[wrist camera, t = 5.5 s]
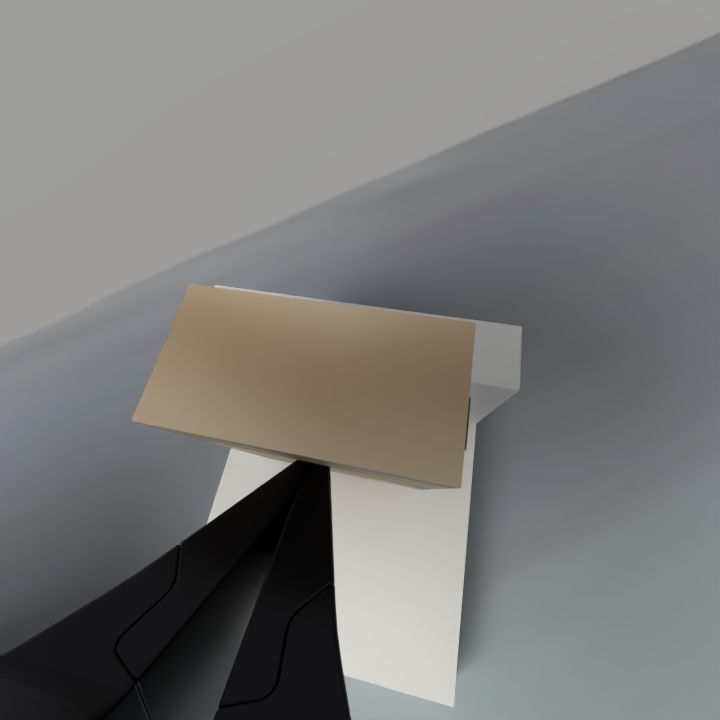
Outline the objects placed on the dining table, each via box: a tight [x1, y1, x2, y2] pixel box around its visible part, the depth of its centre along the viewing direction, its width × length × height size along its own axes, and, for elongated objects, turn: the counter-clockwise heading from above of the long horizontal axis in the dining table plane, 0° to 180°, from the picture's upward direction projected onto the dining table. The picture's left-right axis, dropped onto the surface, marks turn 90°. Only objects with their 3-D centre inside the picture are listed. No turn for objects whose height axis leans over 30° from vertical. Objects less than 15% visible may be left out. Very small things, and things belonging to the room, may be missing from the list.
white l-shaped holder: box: [207, 285, 522, 708], centre depth 12 cm, size 12×10×6 cm
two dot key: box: [131, 284, 476, 490], centre depth 10 cm, size 3×6×8 cm, turn 79°
